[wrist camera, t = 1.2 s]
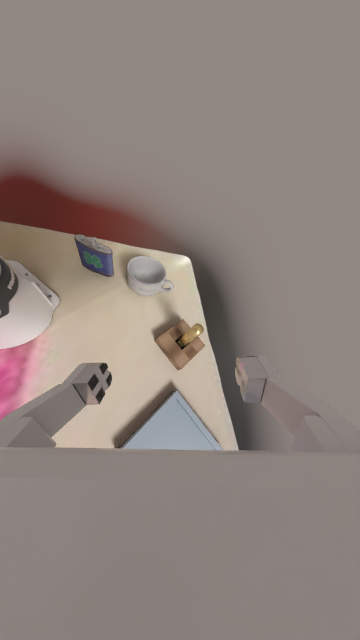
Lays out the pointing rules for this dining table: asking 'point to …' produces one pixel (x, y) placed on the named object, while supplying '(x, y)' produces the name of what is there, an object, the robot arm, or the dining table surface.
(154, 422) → the tray
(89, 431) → the dining table surface
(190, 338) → the pin
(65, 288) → the dining table surface
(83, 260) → the flask
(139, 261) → the teacup
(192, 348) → the pin block
